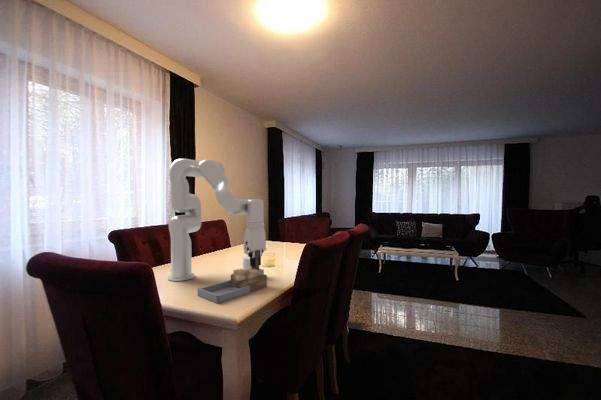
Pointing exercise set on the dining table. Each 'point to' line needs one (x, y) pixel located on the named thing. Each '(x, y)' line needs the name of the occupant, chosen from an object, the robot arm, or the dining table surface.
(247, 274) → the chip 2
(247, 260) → the white cup
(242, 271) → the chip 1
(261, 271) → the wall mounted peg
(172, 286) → the dining table surface
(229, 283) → the tray
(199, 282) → the dining table surface
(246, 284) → the slot block
